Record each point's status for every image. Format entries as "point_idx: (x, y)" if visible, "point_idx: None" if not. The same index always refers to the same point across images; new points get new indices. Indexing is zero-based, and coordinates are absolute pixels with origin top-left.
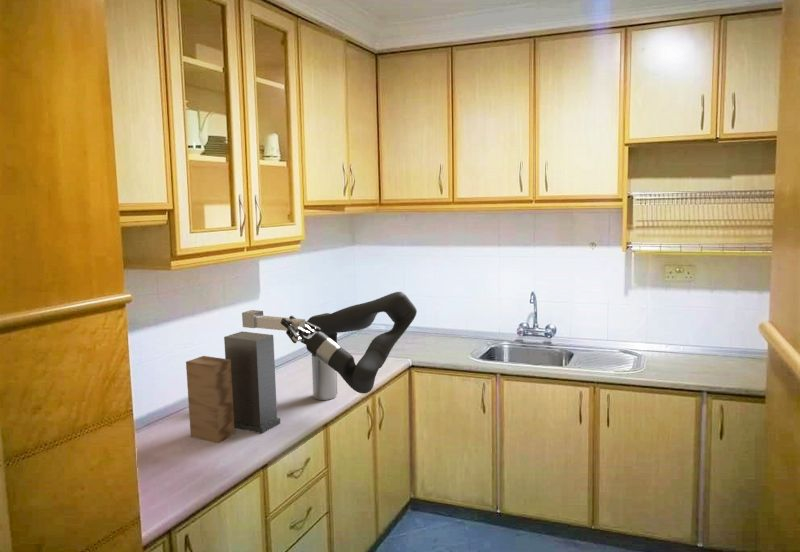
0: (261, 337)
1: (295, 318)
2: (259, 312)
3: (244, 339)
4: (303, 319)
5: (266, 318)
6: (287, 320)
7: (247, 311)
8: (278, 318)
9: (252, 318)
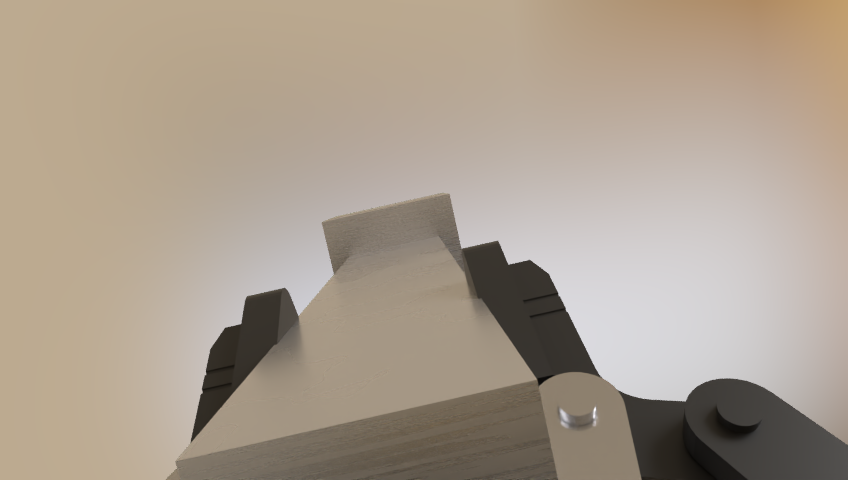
0: None
1: (482, 304)
2: (402, 209)
3: None
4: (484, 379)
5: (338, 271)
6: (261, 346)
7: (386, 205)
8: (378, 280)
9: (333, 263)
